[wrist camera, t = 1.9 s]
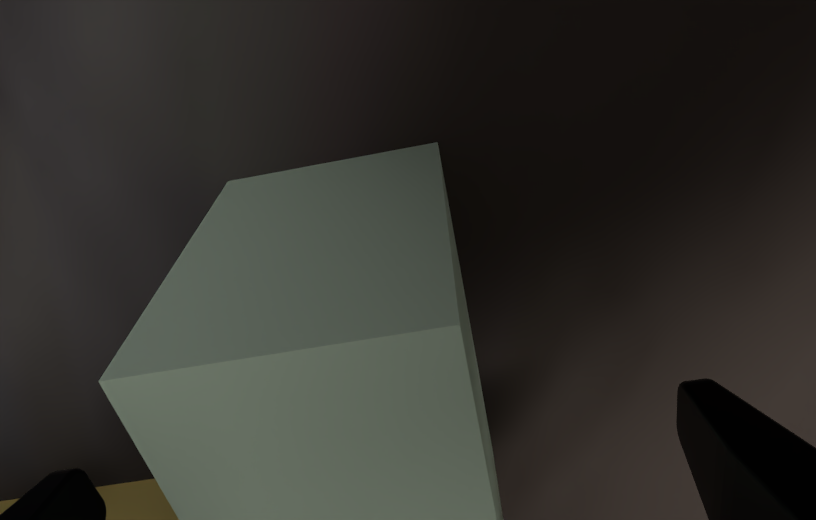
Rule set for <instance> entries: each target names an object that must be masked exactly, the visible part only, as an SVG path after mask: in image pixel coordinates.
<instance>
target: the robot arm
mask: <svg viewBox="0 0 816 520" xmlns="http://www.w3.org/2000/svg"><path fill="white" fill-rule="evenodd" d="M677 431H678V436H679V440H680V443H681V445H682V448H683V451H684V453H685V456H686V459H687V462H688V464H689V467H690V470H691V472H692V475H693V478H694V481H695V483H696V486H697V489H698V492H699V494H700V497H701V500H702V502H703V505H704V508H705V511H706V513H707V516H708V519H709V520H816V448H815V447H813V446H812V445H810V444H809V443H807V442H806V441H804V440H803V439H801V438H800V437H798V436H797V435H795V434H794V433H792V432H791V431H789V430H788V429H786V428H785V427H783V426H782V425H780V424H779V423H777V422H776V421H774V420H773V419H771V418H770V417H768V416H767V415H765V414H764V413H762V412H760V411H759V410H757V409H756V408H754V407H753V406H751V405H750V404H748V403H747V402H745V401H744V400H742V399H741V398H739V397H738V396H736V395H735V394H733V393H732V392H730V391H729V390H727V389H726V388H724V387H723V386H721V385H720V384H718V383H717V382H715V381H713V380H711V379H698V380H691V381H684V382H682V383H681V384H679V387H678V393H677ZM0 520H106V505H105V502H104V500H103V498H102V497H101V495H100V494H99V492H98V491H97V489H96V488H95V486H94V485H93V483H92V482H91V480H90V479H89V477H88V476H87V474H86V473H85V472H84V471H83V470H81V469H78V468H73V469H66V470H59V471H55V472H52V473H51V474H49V475H48V476H46V477H45V478H44V479H43V480H42V481H40V482H39V483H38V484H37V485H36V486H34V487H33V488H32V489H31V490H30V491H28V492H27V493H26V494H25V495H23V496H22V497H21V498H20V499H19V500H17V501H16V502H15V503H14V504H13V505H11V506H10V507H9V508H8V509H7V510H5V511H4V512H3V513H2V514H0Z"/></svg>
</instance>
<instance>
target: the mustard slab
mask: <svg viewBox="0 0 816 520" xmlns="http://www.w3.org/2000/svg"><path fill="white" fill-rule="evenodd" d="M95 488H96V489H97V491H98V492H99V494H100V495H101V497H102V498H103V500H104V502H105V505H106V520H179V519H178V517H177V516H176V514H175V512H174V510H173V509H172V507H171V505H170V504H169V502H168V500H167V498H166V497H165V495H164V493H163V492H162V490H161V488H160V486H159V485H158V483H157V481H156V480H155V479H148V480H142V481H135V482H128V483H121V484H114V485H107V486H101V487H95ZM19 499H20V498H19ZM19 499H12V500H5V501H0V514H2V513H3V512H4V511H5V510H7V509H8V508H9V507H10V506H11V505H13V504H14V503H15V502H16V501H17V500H19Z"/></svg>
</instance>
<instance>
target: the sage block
mask: <svg viewBox="0 0 816 520" xmlns="http://www.w3.org/2000/svg"><path fill="white" fill-rule="evenodd" d="M98 382H99V384H100V385H101V387H102V389H103V391H104V392H105V394H106V396H107V397H108V399H109V401H110V403H111V404H112V406H113V408H114V409H115V411H116V413H117V415H118V416H119V418H120V420H121V421H122V423H123V425H124V427H125V428H126V430H127V432H128V433H129V435H130V437H131V439H132V440H133V442H134V444H135V445H136V447H137V449H138V451H139V452H140V454H141V456H142V457H143V459H144V461H145V462H146V464H147V466H148V468H149V469H150V471H151V473H152V474H153V476H154V478H155V480H156V481H157V483H158V485H159V486H160V488H161V490H162V492H163V493H164V495H165V497H166V498H167V500H168V502H169V504H170V505H171V507H172V509H173V510H174V512H175V514H176V516H177V517H178V519H179V520H503V514H502V508H501V501H500V495H499V488H498V482H497V475H496V468H495V462H494V455H493V449H492V443H491V438H490V432H489V427H488V421H487V415H486V410H485V404H484V399H483V393H482V387H481V382H480V376H479V371H478V365H477V360H476V354H475V348H474V343H473V337H472V332H471V326H470V320H469V315H468V309H467V304H466V298H465V292H464V287H463V281H462V276H461V270H460V264H459V259H458V253H457V248H456V242H455V236H454V231H453V225H452V220H451V214H450V208H449V203H448V197H447V192H446V186H445V181H444V175H443V169H442V164H441V158H440V153H439V147H438V142H435V143H430V144H425V145H419V146H414V147H409V148H403V149H398V150H393V151H387V152H382V153H377V154H371V155H366V156H360V157H355V158H350V159H344V160H339V161H334V162H328V163H323V164H318V165H312V166H307V167H301V168H296V169H291V170H285V171H280V172H275V173H269V174H264V175H259V176H253V177H248V178H243V179H237V180H232V181H228V182H227V183H226V185H225V187H224V188H223V190H222V191H221V193H220V194H219V196H218V197H217V199H216V200H215V202H214V204H213V205H212V207H211V208H210V210H209V211H208V213H207V214H206V216H205V217H204V219H203V221H202V222H201V224H200V225H199V227H198V228H197V230H196V231H195V233H194V234H193V236H192V238H191V239H190V241H189V242H188V244H187V245H186V247H185V248H184V250H183V251H182V253H181V255H180V256H179V258H178V259H177V261H176V262H175V264H174V265H173V267H172V268H171V270H170V271H169V273H168V275H167V276H166V278H165V279H164V281H163V282H162V284H161V285H160V287H159V288H158V290H157V292H156V293H155V295H154V296H153V298H152V299H151V301H150V302H149V304H148V305H147V307H146V309H145V310H144V312H143V313H142V315H141V316H140V318H139V319H138V321H137V322H136V324H135V326H134V327H133V329H132V330H131V332H130V333H129V335H128V336H127V338H126V339H125V341H124V343H123V344H122V346H121V347H120V349H119V350H118V352H117V353H116V355H115V356H114V358H113V360H112V361H111V363H110V364H109V366H108V367H107V369H106V370H105V372H104V373H103V375H102V377H101V378H100V380H99V381H98Z"/></svg>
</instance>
